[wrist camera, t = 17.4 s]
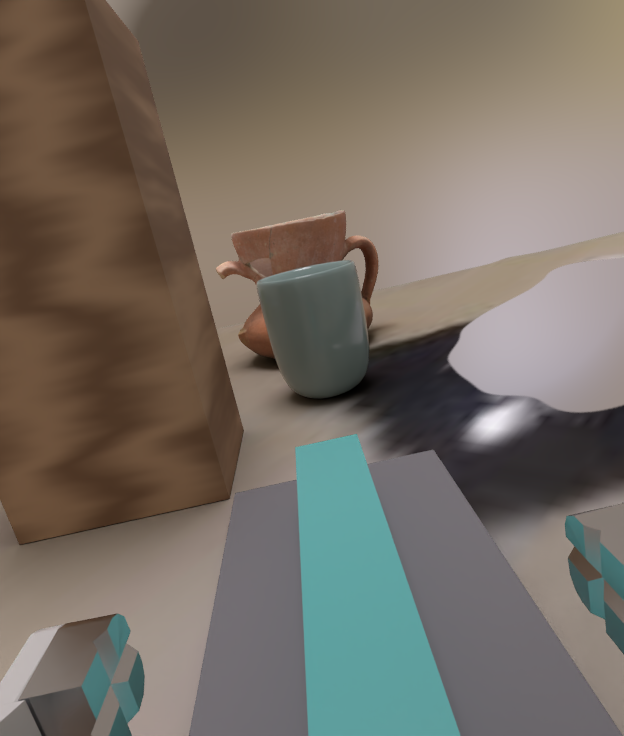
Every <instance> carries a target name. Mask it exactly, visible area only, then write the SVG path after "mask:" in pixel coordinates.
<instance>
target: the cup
mask: <svg viewBox="0 0 624 736" xmlns="http://www.w3.org/2000/svg"><path fill="white" fill-rule="evenodd" d="M257 292H258V296H259V301H260V305H261V309H262V313H263V318H264V322H265V326H266V329H267V333H268V337H269V341H270V344H271V347H272V351H273V354H274V357H275V360H276V363H277V365H278V368H279V370H280V372H281V374H282V376H283V378H284V380H285V381H286V383H287V384H288V386H289V387H290V388H291V389H292V390H293V391H294V392H296V393H297V394H299V395H301V396H304V397H308V398H316V399H320V398H329V397H334V396H337V395H340V394H343V393H345V392H348V391H349V390H351V389H353V388H354V387H356V386H357V385H358V384H359V383H360V382H361V381H362V380H363V378H364V376H365V374H366V372H367V369H368V363H369V340H368V330H367V323H366V317H365V311H364V305H363V300H362V294H361V289H360V284H359V279H358V275H357V270H356V266H355V263H354V262H353V261H352V260H344V261H334V262H328V263H322V264H316V265H311V266H307V267H302V268H298V269H294V270H290V271H286V272H282V273H279V274H275V275H272V276H269V277H266V278H263V279H260V280H258V281H257Z"/></svg>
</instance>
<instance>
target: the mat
mask: <svg viewBox="0 0 624 736" xmlns="http://www.w3.org/2000/svg"><path fill="white" fill-rule="evenodd" d="M367 465H368V468H369V471H370V474H371V477H372V480H373V483H374V486H375V489H376V492H377V494H378V497H379V500H380V503H381V506H382V509H383V512H384V515H385V518H386V521H387V523H388V526H389V529H390V532H391V535H392V538H393V541H394V544H395V547H396V550H397V553H398V555H399V558H400V561H401V564H402V567H403V570H404V573H405V576H406V579H407V582H408V584H409V587H410V590H411V593H412V596H413V599H414V602H415V605H416V608H417V611H418V614H419V616H420V619H421V622H422V625H423V628H424V631H425V634H426V637H427V640H428V643H429V646H430V648H431V651H432V654H433V657H434V660H435V663H436V666H437V669H438V672H439V675H440V677H441V680H442V683H443V686H444V689H445V692H446V695H447V698H448V701H449V704H450V707H451V709H452V712H453V715H454V718H455V721H456V724H457V727H458V730H459V733H460V736H623V735H622V734H621V732H620V731H619V729H618V728H617V726H616V725H615V723H614V722H613V720H612V719H611V717H610V716H609V714H608V713H607V711H606V710H605V708H604V707H603V705H602V704H601V702H600V701H599V699H598V698H597V696H596V695H595V693H594V692H593V690H592V689H591V687H590V686H589V684H588V683H587V681H586V680H585V678H584V676H583V675H582V673H581V672H580V670H579V669H578V667H577V666H576V664H575V663H574V661H573V660H572V658H571V657H570V655H569V654H568V652H567V651H566V649H565V648H564V646H563V645H562V643H561V642H560V640H559V639H558V637H557V636H556V634H555V633H554V631H553V630H552V628H551V627H550V625H549V624H548V622H547V621H546V619H545V618H544V616H543V615H542V613H541V612H540V610H539V608H538V607H537V605H536V604H535V602H534V601H533V599H532V598H531V596H530V595H529V593H528V592H527V590H526V589H525V587H524V586H523V584H522V583H521V581H520V580H519V578H518V577H517V575H516V574H515V572H514V571H513V569H512V568H511V566H510V565H509V563H508V562H507V560H506V559H505V557H504V556H503V554H502V553H501V551H500V550H499V548H498V547H497V545H496V544H495V542H494V541H493V539H492V537H491V536H490V534H489V533H488V531H487V530H486V528H485V527H484V525H483V524H482V522H481V521H480V519H479V518H478V516H477V515H476V513H475V512H474V510H473V509H472V507H471V506H470V504H469V503H468V501H467V500H466V498H465V497H464V495H463V494H462V492H461V491H460V489H459V488H458V486H457V485H456V483H455V482H454V480H453V479H452V477H451V476H450V474H449V473H448V471H447V470H446V468H445V466H444V465H443V463H442V462H441V460H440V459H439V457H438V456H437V454H436V453H435V451H434V450H430V451H425V452H421V453H416V454H412V455H407V456H402V457H398V458H393V459H389V460H384V461H380V462H375V463H371V464H367ZM189 736H308V715H307V693H306V671H305V649H304V627H303V605H302V582H301V560H300V538H299V516H298V494H297V480H293V481H289V482H284V483H279V484H275V485H270V486H266V487H261V488H257V489H252V490H247V491H243V492H238V493H235V497H234V502H233V507H232V512H231V518H230V523H229V528H228V533H227V539H226V544H225V549H224V554H223V559H222V565H221V570H220V575H219V580H218V586H217V591H216V596H215V601H214V607H213V612H212V617H211V622H210V628H209V633H208V638H207V643H206V649H205V654H204V659H203V664H202V670H201V675H200V680H199V685H198V691H197V696H196V701H195V706H194V712H193V717H192V722H191V727H190V733H189Z"/></svg>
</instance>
